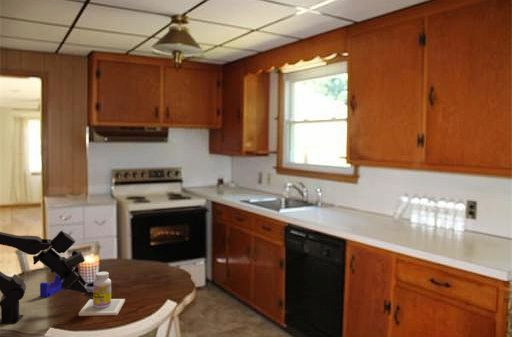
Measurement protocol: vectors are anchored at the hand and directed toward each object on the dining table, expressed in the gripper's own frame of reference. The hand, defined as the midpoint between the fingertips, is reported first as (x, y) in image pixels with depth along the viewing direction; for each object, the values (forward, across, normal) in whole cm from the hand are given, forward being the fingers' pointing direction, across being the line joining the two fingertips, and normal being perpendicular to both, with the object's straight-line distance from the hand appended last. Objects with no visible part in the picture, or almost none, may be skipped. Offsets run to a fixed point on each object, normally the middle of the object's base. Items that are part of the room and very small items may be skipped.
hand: (86, 288), depth 165 cm
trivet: (+10, 0, +2) cm, 11 cm away
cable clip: (-2, +26, +16) cm, 31 cm away
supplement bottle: (+10, 0, +1) cm, 10 cm away
